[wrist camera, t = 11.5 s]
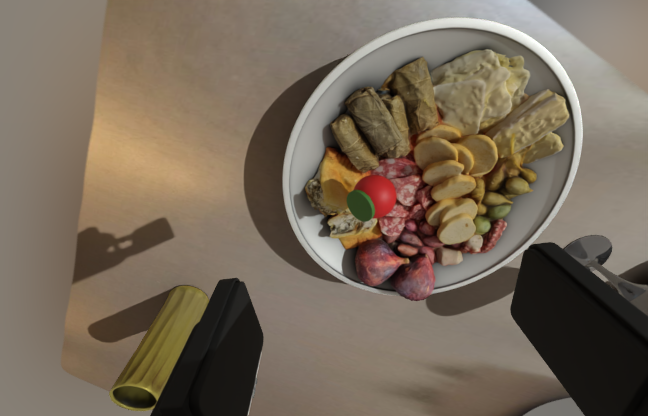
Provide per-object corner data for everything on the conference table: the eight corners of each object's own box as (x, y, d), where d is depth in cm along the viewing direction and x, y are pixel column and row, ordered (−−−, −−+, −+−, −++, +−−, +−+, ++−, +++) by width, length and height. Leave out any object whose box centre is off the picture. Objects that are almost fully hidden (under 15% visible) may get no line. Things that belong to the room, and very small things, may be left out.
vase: (162, 301, 43) (95, 401, 30) (180, 278, 41) (116, 375, 28) (198, 318, 45) (149, 419, 32) (217, 297, 43) (172, 396, 30)
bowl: (272, 31, 27) (254, 21, 20) (591, 16, 26) (689, 0, 19) (298, 274, 41) (293, 318, 34) (505, 267, 40) (544, 310, 33)
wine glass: (561, 285, 42) (671, 390, 28) (547, 250, 39) (664, 349, 25) (619, 262, 40) (768, 363, 26) (610, 222, 37) (773, 314, 23)
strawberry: (373, 198, 29) (344, 217, 27) (372, 162, 27) (340, 180, 25) (406, 210, 26) (377, 233, 24) (408, 172, 24) (376, 193, 22)
